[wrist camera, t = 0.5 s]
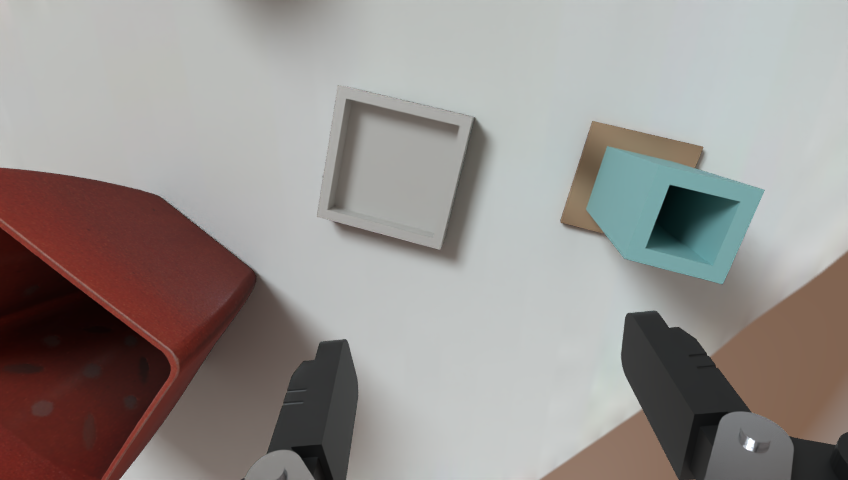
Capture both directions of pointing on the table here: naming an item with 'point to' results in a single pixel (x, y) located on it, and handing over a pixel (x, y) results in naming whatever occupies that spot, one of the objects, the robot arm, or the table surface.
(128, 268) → the plant pot
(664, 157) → the square wooden base
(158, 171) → the table surface
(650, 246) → the teal square tube
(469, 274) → the table surface
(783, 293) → the table surface
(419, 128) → the tray
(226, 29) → the table surface
